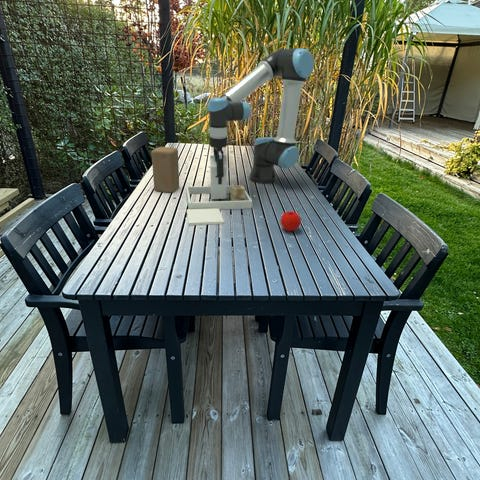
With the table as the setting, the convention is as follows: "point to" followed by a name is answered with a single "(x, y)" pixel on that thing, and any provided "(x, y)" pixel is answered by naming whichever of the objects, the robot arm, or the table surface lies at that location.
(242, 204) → the rectangular frame
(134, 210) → the table surface
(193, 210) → the tile
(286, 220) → the apple
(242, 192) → the oak block
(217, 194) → the milk carton
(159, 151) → the wooden block
